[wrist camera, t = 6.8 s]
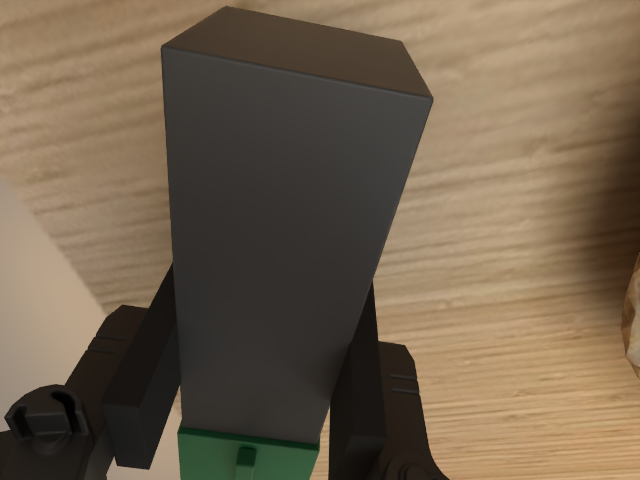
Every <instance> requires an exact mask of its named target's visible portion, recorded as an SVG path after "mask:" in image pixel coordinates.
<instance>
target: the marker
mask: <svg viewBox="0 0 640 480" xmlns="http://www.w3.org/2000/svg"><path fill="white" fill-rule="evenodd" d="M161 62H162V79H163V97H164V114H165V131H166V149H167V166H168V183H169V201H170V218H171V236H172V253H173V270H174V288H175V305H176V318H177V327H178V344H179V361H180V378H181V383H180V392H181V409H182V420H181V423H180V426H179V430H178V432H177V434H178V448H179V462H180V476H181V480H309V479H310V476H311V474H312V471H313V468H314V465H315V462H316V460H317V457H318V454H319V451H320V433H321V430H322V427H323V425H324V422H325V419H326V416H327V413H328V410H329V407H330V402H331V399H332V396H333V393H334V390H335V387H336V384H337V381H338V378H339V375H340V372H341V369H342V366H343V363H344V360H345V357H346V354H347V351H348V348H349V345H350V343H351V342H352V339H353V336H354V333H355V330H356V327H357V324H358V321H359V319H360V316H361V313H362V310H363V307H364V304H365V301H366V298H367V295H368V292H369V289H370V286H371V283H372V280H373V277H374V274H375V271H376V269H377V266H378V263H379V260H380V257H381V254H382V251H383V248H384V245H385V242H386V239H387V236H388V233H389V230H390V227H391V224H392V221H393V218H394V216H395V213H396V210H397V207H398V204H399V201H400V198H401V195H402V192H403V189H404V186H405V183H406V180H407V177H408V174H409V171H410V168H411V165H412V163H413V160H414V157H415V154H416V151H417V148H418V145H419V142H420V139H421V136H422V133H423V130H424V127H425V124H426V121H427V118H428V115H429V112H430V110H431V107H432V104H433V96H432V94H431V93H430V91H429V89H428V87H427V85H426V84H425V82H424V80H423V78H422V77H421V75H420V73H419V71H418V69H417V68H416V66H415V64H414V62H413V61H412V59H411V57H410V55H409V53H408V52H407V50H406V48H405V46H404V44H403V43H402V42H401V41H399V40H394V39H389V38H384V37H379V36H374V35H369V34H364V33H359V32H354V31H349V30H344V29H339V28H334V27H329V26H324V25H319V24H314V23H309V22H304V21H299V20H294V19H289V18H284V17H279V16H274V15H269V14H264V13H259V12H254V11H249V10H244V9H239V8H234V7H229V6H225V7H223V8H221V9H220V10H218V11H217V12H215V13H213V14H212V15H210V16H208V17H207V18H205V19H204V20H202V21H200V22H199V23H197V24H196V25H194V26H192V27H191V28H189V29H188V30H186V31H184V32H183V33H181V34H180V35H178V36H176V37H175V38H173V39H172V40H170V41H168V42H167V43H165V44H163V45H162V46H161Z"/></svg>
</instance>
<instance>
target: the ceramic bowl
mask: <svg viewBox="0 0 640 480" xmlns="http://www.w3.org/2000/svg"><path fill="white" fill-rule="evenodd" d="M621 330H622V334H623V340H624V347H625V357H626V358H627V360H628V361H629V362H630V364H631V365H632V367H633V369H634V371H635V373H636V375H637V377H638V378H639V379H640V253H639V255H638V258H637V261H636V264H635V267H634V271H633V274H632V277H631V280H630V283H629V286H628V289H627V293H626V297H625V302H624V308H623V313H622V324H621Z"/></svg>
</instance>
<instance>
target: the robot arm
mask: <svg viewBox="0 0 640 480" xmlns="http://www.w3.org/2000/svg"><path fill="white" fill-rule="evenodd" d="M180 383H181V378H180V361H179V344H178V327H177V318H176V305H175V288H174V270H173V262H172V264H171V266H170V268H169V270H168V272H167V274H166V276H165V278H164V280H163V282H162V284H161V285H160V287H159V289H158V291H157V293H156V295H155V297H154V299H153V301H152V303H151V305H150V307H149V308H142V307H135V306H128V305H121V306H120V307H119V308H118V309H116V310H115V311H114V312H112V313H111V314H110V315H109V316H107V317H106V319H105V320H104V322H103V323H102V325H101V327H100V328H99V330H98V332H97V333H96V337H94V338H93V340H92V341H91V343H90V345H89V346H88V350H86V351H85V353H84V355H83V356H82V357H81V359H80V361H79V362H78V364H77V366H76V367H75V369H74V370H73V372H72V374H71V375H70V377H69V379H68V380H67V382H66V384H65V385H57V384H54V385H49V386H44V387H39V388H37V389H35V390H33V391H31V392H29V393H27V394H25V395H24V396H23V397H21V398H20V399H19V400H18V401H17V402H15V403H14V404H13V405H12V406H11V408H10V409H9V411H8V412H7V414H6V415H5V417H4V418H5V420H6V422H7V424H8V426H9V427H10V429H11V430H8V431H3V432H0V480H107V476H106V474H107V471H108V469H109V467H110V464H111V462H112V460H113V458H114V457H115V460H116V464H117V466H122V467H130V468H139V469H147V470H149V469H150V466H151V463H152V461H153V457H154V455H155V452H156V449H157V447H158V444H159V441H160V438H161V435H162V433H163V430H164V427H165V424H166V422H167V419H168V416H169V413H170V411H171V408H172V405H173V402H174V399H175V397H176V394H177V391H178V388H179V386H180ZM328 480H449V479H448V478H447V477H446V476H445V475H444V474H443V473H442V472H441V471H440V469H439V468H438V467H437V465H436V464H435V462H434V460H433V458H432V456H431V452H430V449H429V444H428V438H427V432H426V426H425V421H424V415H423V409H422V403H421V397H420V396H419V386H418V381H417V374H416V368H415V362H414V360H413V358H412V356H411V355H410V353H409V351H408V350H407V348H406V346H405V345H401V344H395V343H388V342H381V341H378V332H377V321H376V310H375V299H374V288H373V280H372V283H371V286H370V289H369V292H368V295H367V298H366V301H365V304H364V307H363V310H362V313H361V316H360V319H359V321H358V324H357V327H356V330H355V333H354V336H353V339H352V342H351V343H350V345H349V348H348V351H347V354H346V357H345V360H344V363H343V366H342V369H341V372H340V375H339V378H338V381H337V384H336V387H335V390H334V393H333V396H332V399H331V402H330V435H329V477H328Z"/></svg>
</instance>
